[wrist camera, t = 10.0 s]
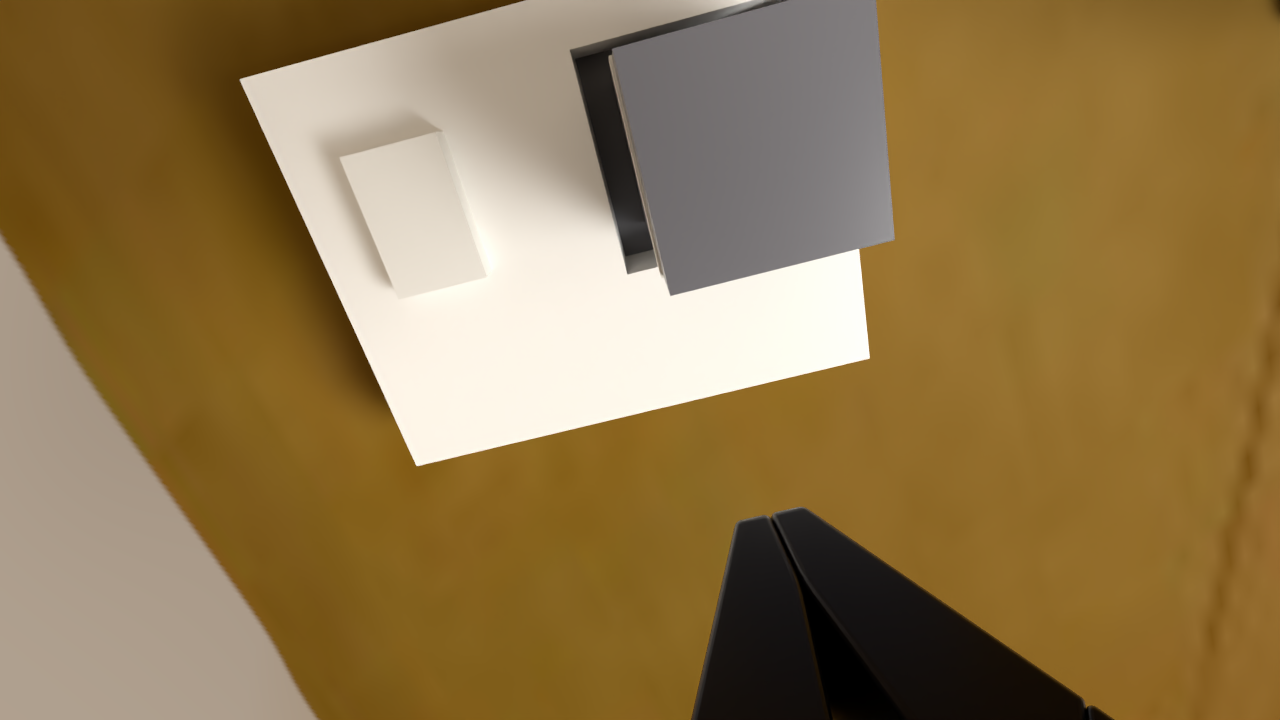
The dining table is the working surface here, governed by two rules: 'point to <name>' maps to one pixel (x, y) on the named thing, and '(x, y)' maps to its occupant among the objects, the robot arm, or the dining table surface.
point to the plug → (758, 139)
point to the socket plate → (523, 231)
